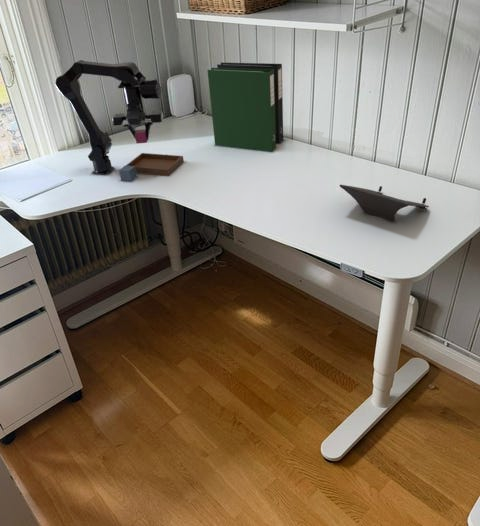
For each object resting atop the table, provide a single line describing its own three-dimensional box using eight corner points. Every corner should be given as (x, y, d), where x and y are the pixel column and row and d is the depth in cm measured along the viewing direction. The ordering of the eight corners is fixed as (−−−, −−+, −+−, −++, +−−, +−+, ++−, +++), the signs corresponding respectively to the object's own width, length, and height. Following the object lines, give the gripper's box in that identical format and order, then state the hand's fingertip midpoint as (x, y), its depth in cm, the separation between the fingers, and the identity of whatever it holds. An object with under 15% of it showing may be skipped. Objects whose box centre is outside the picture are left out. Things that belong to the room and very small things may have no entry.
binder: (214, 146, 214) (206, 70, 196) (228, 134, 225) (222, 61, 207) (271, 151, 204) (269, 72, 186) (283, 139, 215) (282, 63, 197)
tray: (126, 172, 198) (124, 166, 196) (143, 158, 208) (141, 152, 207) (168, 175, 192) (167, 169, 190) (183, 161, 202) (182, 155, 201)
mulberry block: (136, 143, 188) (134, 133, 186) (138, 139, 191) (136, 129, 189) (146, 142, 188) (144, 132, 186) (148, 139, 191) (146, 129, 189)
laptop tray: (427, 228, 157) (436, 201, 155) (401, 228, 139) (411, 197, 137) (364, 209, 170) (371, 183, 168) (332, 206, 153) (341, 177, 150)
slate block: (121, 180, 191) (119, 170, 188) (127, 175, 194) (125, 165, 192) (131, 181, 190) (129, 170, 187) (137, 176, 193) (134, 166, 190)
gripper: (104, 107, 174) (114, 149, 183) (155, 104, 173) (162, 145, 182) (111, 98, 184) (120, 138, 192) (160, 95, 182) (167, 135, 191)
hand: (142, 139), depth 189 cm, fingers closed on mulberry block, 4 cm apart
